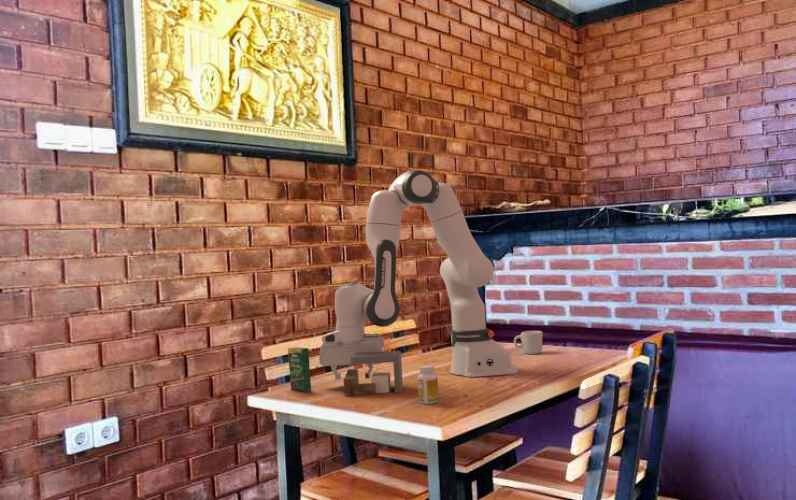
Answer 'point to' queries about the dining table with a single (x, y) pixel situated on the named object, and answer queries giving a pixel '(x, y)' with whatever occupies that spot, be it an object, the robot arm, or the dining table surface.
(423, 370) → the supplement bottle
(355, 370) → the wooden stepped block
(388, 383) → the cream block
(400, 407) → the dining table surface
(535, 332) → the cup
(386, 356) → the low shelf
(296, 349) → the coffee box
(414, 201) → the robot arm
